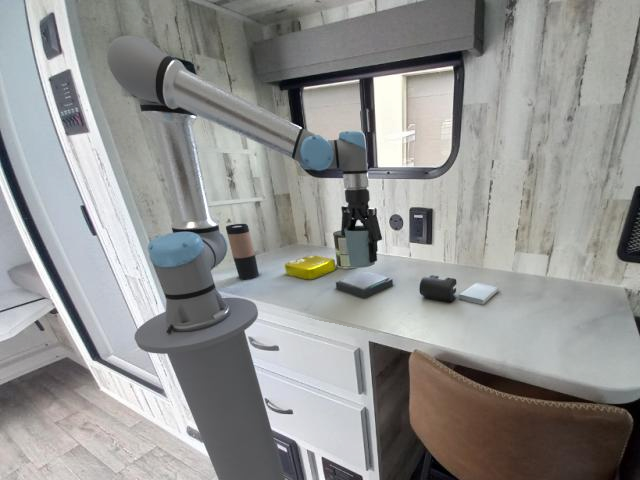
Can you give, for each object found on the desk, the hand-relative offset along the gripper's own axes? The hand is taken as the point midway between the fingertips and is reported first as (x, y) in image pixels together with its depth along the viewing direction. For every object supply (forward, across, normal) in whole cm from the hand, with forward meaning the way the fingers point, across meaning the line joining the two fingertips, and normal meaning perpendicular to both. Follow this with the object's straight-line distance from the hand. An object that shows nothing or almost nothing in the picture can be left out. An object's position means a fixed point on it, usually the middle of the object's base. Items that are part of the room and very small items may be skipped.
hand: (362, 259), depth 103 cm
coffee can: (+10, +24, -14) cm, 30 cm away
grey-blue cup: (+2, 0, 0) cm, 2 cm away
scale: (+10, 0, 0) cm, 10 cm away
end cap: (+11, -26, -7) cm, 29 cm away
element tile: (+10, +30, +1) cm, 32 cm away
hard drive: (+11, -35, -17) cm, 40 cm away
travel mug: (+10, +46, +19) cm, 51 cm away
